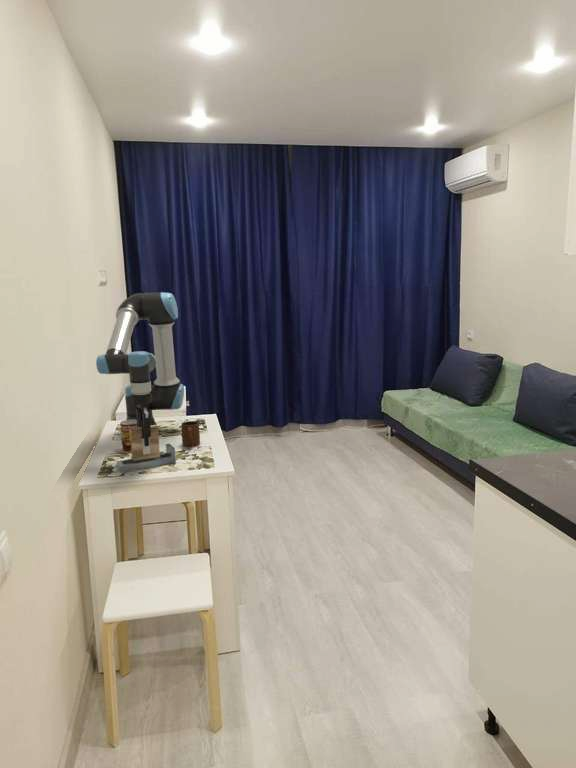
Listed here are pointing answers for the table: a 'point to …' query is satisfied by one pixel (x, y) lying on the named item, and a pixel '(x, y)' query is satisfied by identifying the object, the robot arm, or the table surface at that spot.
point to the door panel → (138, 447)
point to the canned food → (127, 433)
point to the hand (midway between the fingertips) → (145, 452)
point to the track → (148, 461)
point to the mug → (190, 433)
